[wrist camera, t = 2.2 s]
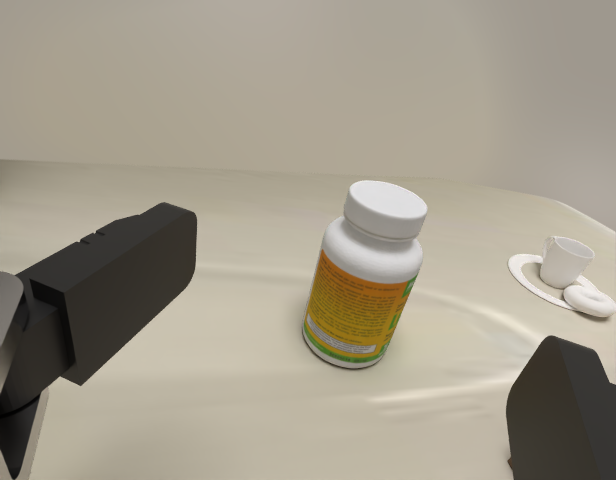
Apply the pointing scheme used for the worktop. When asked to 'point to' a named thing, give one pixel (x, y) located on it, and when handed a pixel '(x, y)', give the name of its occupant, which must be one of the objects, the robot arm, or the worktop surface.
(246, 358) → the worktop surface
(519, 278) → the teacup and saucer
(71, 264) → the robot arm
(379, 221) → the supplement bottle
